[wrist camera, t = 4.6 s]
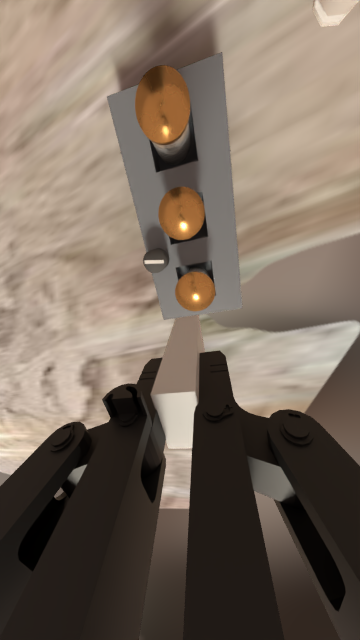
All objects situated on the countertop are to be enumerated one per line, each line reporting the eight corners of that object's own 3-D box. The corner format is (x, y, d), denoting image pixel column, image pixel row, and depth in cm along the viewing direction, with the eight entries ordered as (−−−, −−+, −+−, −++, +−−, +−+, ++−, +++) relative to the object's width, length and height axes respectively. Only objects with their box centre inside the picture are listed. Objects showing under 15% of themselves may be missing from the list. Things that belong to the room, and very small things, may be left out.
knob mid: (169, 239, 26) (159, 240, 20) (167, 200, 24) (156, 187, 18) (203, 238, 25) (204, 239, 19) (204, 198, 23) (205, 185, 17)
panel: (235, 296, 33) (242, 308, 27) (169, 307, 35) (163, 319, 29) (217, 96, 23) (222, 52, 18) (127, 127, 25) (106, 96, 20)
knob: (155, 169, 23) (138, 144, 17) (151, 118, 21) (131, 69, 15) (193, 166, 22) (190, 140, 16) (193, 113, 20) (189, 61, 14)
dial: (150, 269, 27) (144, 273, 24) (148, 248, 25) (141, 250, 23) (169, 269, 26) (166, 273, 23) (168, 248, 25) (164, 249, 22)
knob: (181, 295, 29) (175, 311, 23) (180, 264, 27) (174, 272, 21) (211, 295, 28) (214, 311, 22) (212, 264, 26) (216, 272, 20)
